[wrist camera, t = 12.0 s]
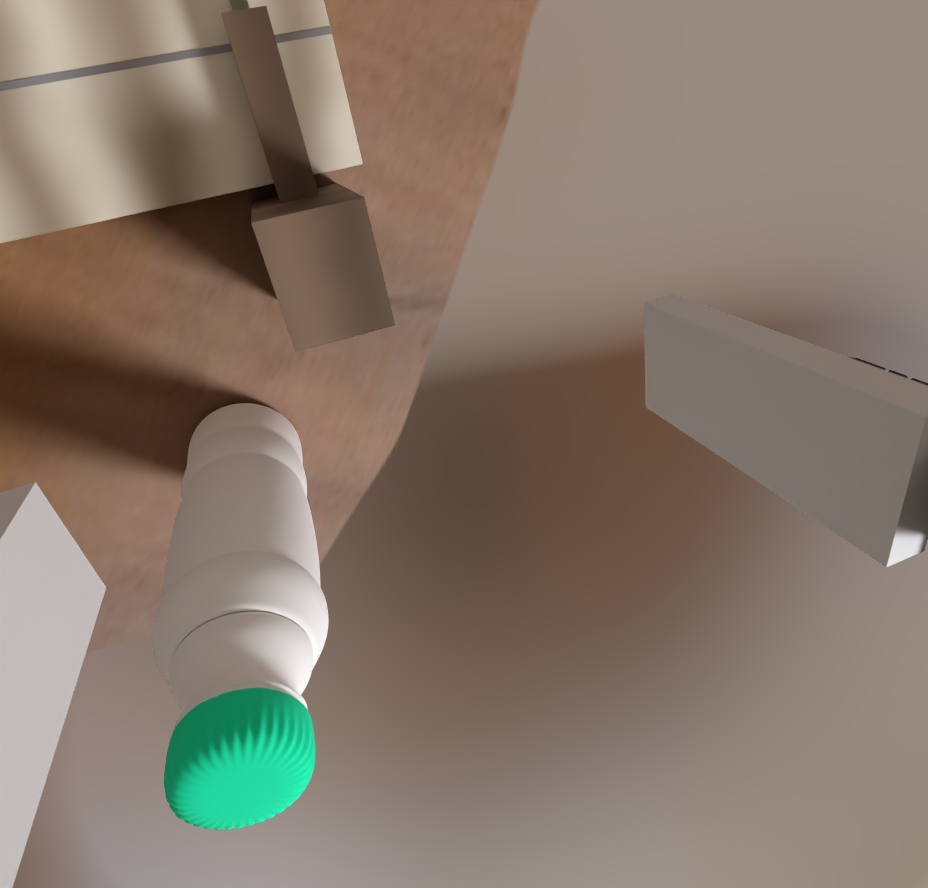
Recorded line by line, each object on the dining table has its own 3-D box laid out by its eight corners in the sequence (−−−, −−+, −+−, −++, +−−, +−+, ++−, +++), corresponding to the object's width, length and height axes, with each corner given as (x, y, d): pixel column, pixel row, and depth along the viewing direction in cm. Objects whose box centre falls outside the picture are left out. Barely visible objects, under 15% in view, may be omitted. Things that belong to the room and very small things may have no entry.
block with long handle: (285, 303, 36) (295, 352, 28) (194, 34, 29) (172, -9, 21) (362, 283, 37) (395, 325, 29) (293, 18, 30) (308, -30, 22)
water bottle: (180, 482, 39) (98, 875, 18) (202, 387, 37) (139, 712, 16) (285, 499, 42) (319, 854, 21) (312, 412, 40) (380, 714, 19)
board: (-14, 243, 30) (-30, 249, 29) (-165, -19, 25) (-196, -32, 23) (357, 162, 34) (363, 163, 32) (297, -81, 29) (301, -96, 27)
